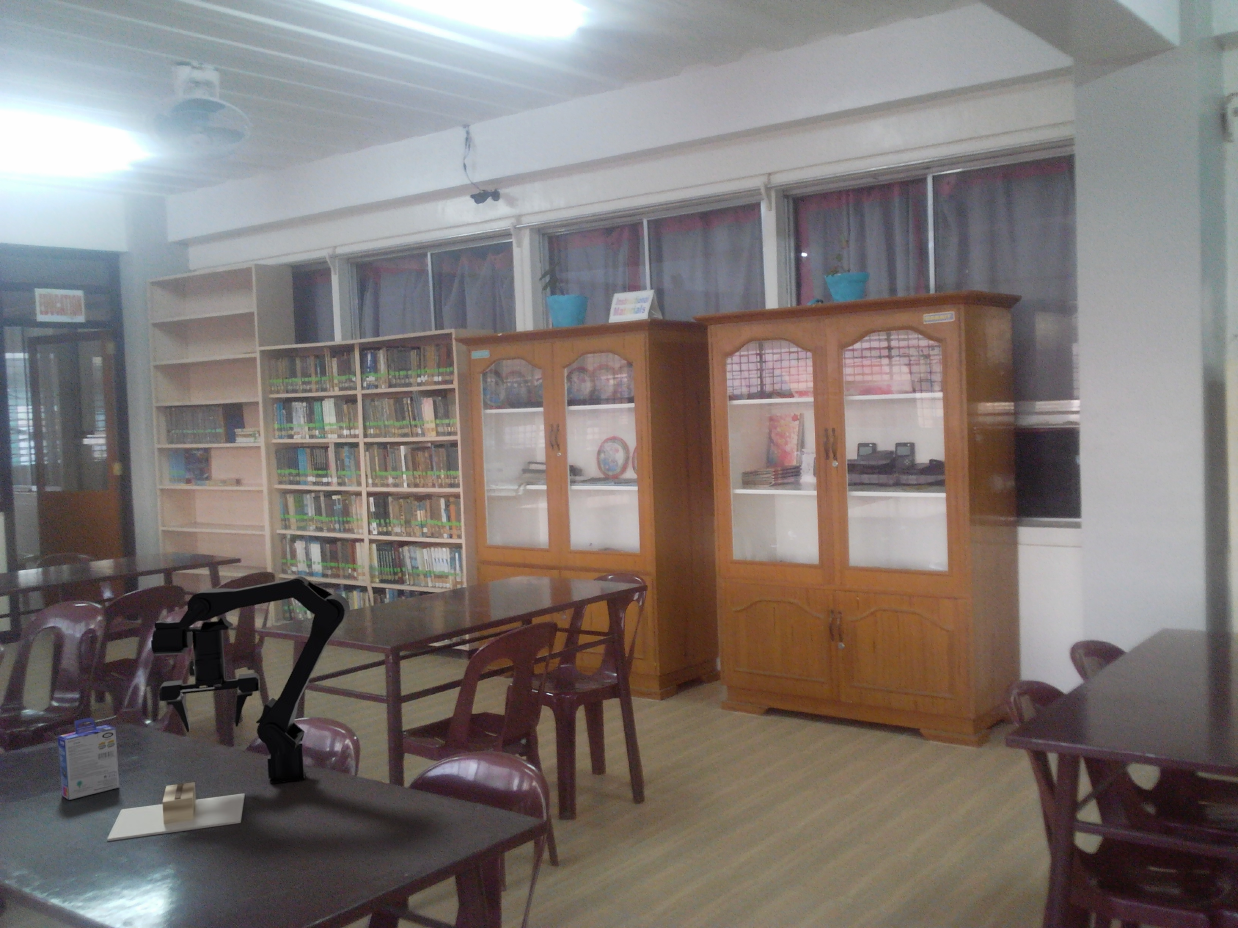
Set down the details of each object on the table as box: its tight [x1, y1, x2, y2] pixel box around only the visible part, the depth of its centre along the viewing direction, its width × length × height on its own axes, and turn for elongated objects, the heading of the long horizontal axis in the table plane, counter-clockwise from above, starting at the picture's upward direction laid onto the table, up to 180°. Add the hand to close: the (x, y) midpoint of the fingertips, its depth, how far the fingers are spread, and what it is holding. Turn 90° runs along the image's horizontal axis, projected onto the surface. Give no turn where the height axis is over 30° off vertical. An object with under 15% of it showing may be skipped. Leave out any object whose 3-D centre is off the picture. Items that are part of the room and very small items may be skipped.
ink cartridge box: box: [57, 717, 120, 801], centre depth 217 cm, size 10×6×14 cm, turn 135°
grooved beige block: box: [161, 781, 197, 824], centre depth 200 cm, size 10×5×4 cm, turn 19°
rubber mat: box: [106, 793, 246, 842], centre depth 199 cm, size 22×16×1 cm
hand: (212, 728), depth 218 cm, fingers open, 9 cm apart
